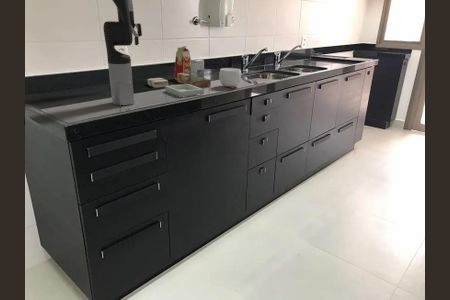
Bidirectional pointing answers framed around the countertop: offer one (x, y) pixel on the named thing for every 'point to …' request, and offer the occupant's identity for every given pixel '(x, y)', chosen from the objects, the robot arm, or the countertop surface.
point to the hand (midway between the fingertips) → (128, 45)
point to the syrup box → (197, 69)
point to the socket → (198, 82)
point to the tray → (184, 90)
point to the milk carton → (182, 61)
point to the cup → (230, 77)
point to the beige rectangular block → (157, 82)
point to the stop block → (181, 76)
